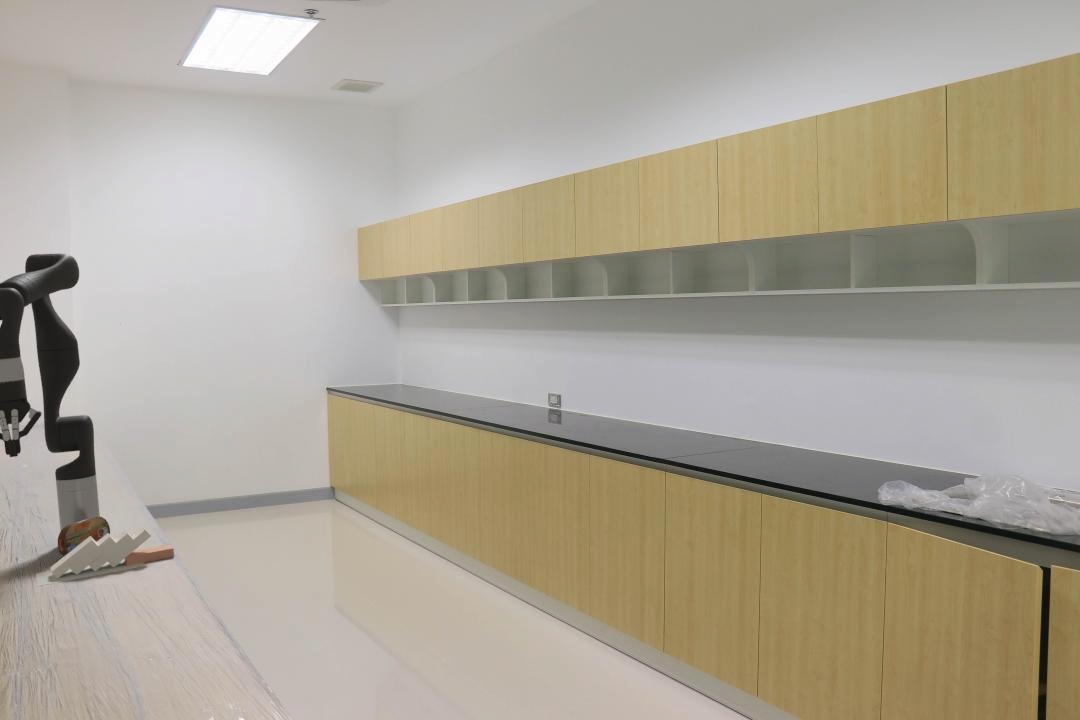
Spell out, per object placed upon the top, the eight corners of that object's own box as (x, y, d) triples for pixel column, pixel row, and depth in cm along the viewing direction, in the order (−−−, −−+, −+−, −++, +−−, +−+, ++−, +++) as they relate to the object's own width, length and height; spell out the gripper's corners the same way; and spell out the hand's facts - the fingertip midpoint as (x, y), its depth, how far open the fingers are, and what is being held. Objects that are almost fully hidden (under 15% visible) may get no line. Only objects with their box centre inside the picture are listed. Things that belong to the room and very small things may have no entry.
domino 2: (69, 563, 187) (108, 532, 191) (75, 570, 188) (114, 538, 192) (70, 568, 183) (109, 536, 187) (76, 575, 183) (116, 542, 188)
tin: (67, 563, 196) (64, 528, 196) (56, 563, 197) (53, 528, 197) (112, 545, 211) (109, 513, 211) (101, 545, 212) (99, 513, 211)
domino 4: (105, 556, 191) (142, 526, 195) (111, 562, 192) (148, 532, 196) (107, 561, 187) (145, 530, 191) (113, 567, 187) (151, 536, 191)
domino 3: (87, 560, 189) (125, 529, 193) (93, 566, 190) (131, 535, 194) (88, 565, 185) (127, 533, 189) (95, 571, 185) (133, 539, 189)
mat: (36, 575, 187) (36, 573, 187) (139, 556, 198) (138, 555, 198) (37, 588, 177) (37, 586, 177) (145, 567, 188) (145, 565, 188)
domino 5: (124, 552, 193) (170, 544, 198) (124, 561, 193) (170, 552, 198) (126, 556, 189) (173, 548, 194) (126, 565, 189) (174, 556, 194)
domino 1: (50, 567, 185) (90, 535, 189) (56, 573, 186) (96, 542, 190) (51, 572, 181) (91, 539, 185) (57, 578, 182) (98, 546, 186)
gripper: (40, 374, 189) (48, 449, 190) (-30, 381, 182) (-21, 458, 184) (38, 377, 182) (47, 454, 184) (-34, 383, 176) (-24, 463, 177)
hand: (13, 456), depth 184 cm, fingers closed
